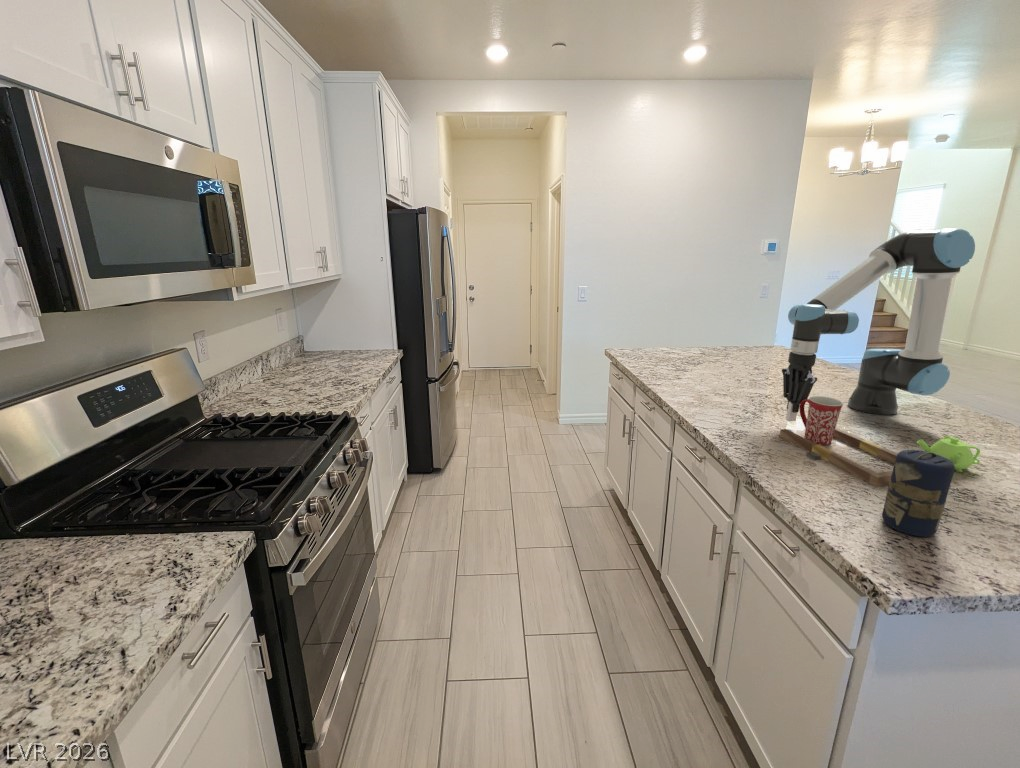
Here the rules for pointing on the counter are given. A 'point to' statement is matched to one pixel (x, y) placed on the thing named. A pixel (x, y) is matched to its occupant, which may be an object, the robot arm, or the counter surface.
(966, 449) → the teapot
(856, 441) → the beam slot
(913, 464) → the canister
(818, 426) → the mug
